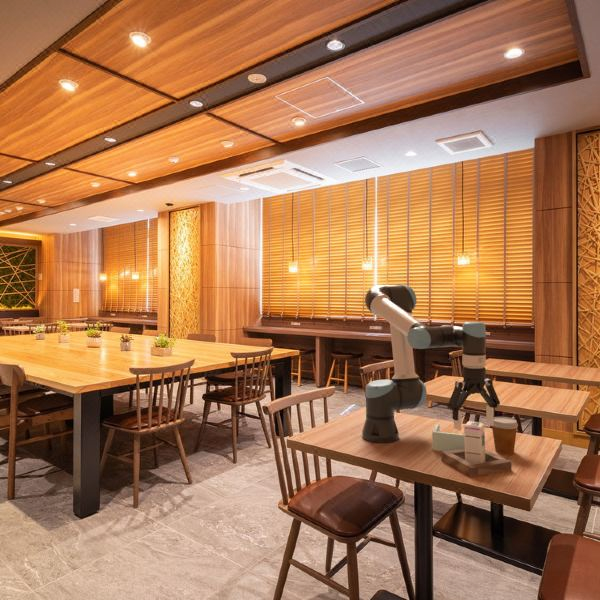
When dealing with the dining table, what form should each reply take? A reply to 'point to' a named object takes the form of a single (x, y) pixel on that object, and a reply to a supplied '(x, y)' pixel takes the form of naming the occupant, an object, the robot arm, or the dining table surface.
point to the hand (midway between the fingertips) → (473, 427)
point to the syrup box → (474, 442)
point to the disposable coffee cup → (504, 434)
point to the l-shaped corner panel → (446, 440)
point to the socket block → (489, 467)
